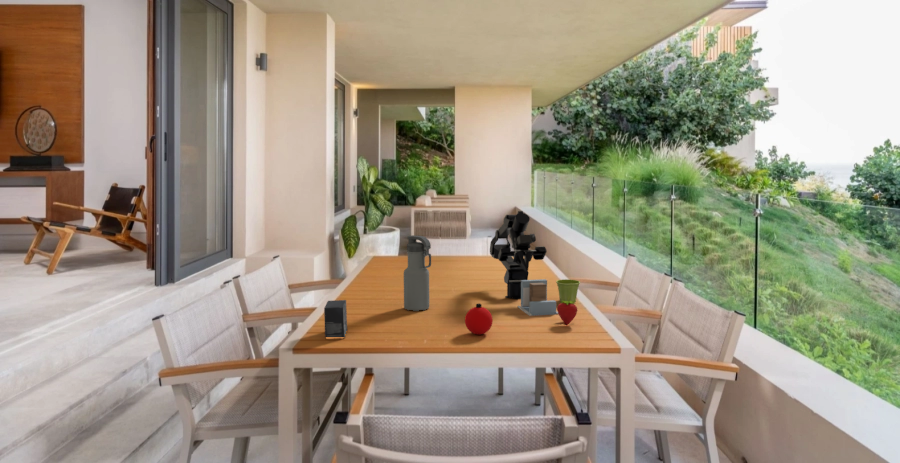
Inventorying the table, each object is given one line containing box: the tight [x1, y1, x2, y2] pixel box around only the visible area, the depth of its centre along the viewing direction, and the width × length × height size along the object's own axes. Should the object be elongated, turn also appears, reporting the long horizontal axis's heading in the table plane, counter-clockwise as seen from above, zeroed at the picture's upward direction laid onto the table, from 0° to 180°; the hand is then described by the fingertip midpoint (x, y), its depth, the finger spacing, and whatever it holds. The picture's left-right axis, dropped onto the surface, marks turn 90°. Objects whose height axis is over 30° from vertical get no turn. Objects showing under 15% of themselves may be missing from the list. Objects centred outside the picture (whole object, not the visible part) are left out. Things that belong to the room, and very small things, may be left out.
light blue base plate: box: [517, 305, 559, 317], centre depth 228 cm, size 14×11×1 cm
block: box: [530, 283, 546, 302], centre depth 228 cm, size 4×5×10 cm
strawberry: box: [556, 299, 578, 326], centre depth 210 cm, size 6×8×10 cm
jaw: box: [520, 278, 548, 307], centre depth 232 cm, size 2×10×10 cm, turn 102°
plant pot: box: [555, 278, 581, 303], centre depth 244 cm, size 9×9×9 cm
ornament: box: [464, 303, 494, 336], centre depth 199 cm, size 9×9×10 cm
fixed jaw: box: [529, 299, 557, 316], centre depth 223 cm, size 2×10×4 cm, turn 101°
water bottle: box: [403, 235, 432, 312], centre depth 235 cm, size 10×10×28 cm
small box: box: [323, 299, 348, 338], centre depth 199 cm, size 11×6×10 cm, turn 5°
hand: (526, 270), depth 240 cm, fingers closed
